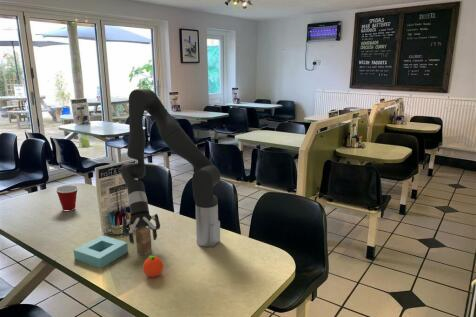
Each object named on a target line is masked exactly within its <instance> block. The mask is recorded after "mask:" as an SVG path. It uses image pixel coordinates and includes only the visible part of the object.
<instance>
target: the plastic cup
mask: <svg viewBox="0 0 476 317" xmlns="http://www.w3.org/2000/svg"><path fill="white" fill-rule="evenodd" d="M78 190H79V187H78V186H77V185H71V184H69V185H67V184H65V185H61V186H58V187H56V188H55V191H56V193H57V196H58V200H59V203H60V205H61V208H62V210H72V209H74V208H75V209H76V202H77V193H78ZM75 209H74V210H75ZM72 211H73V210H72Z"/></svg>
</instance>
